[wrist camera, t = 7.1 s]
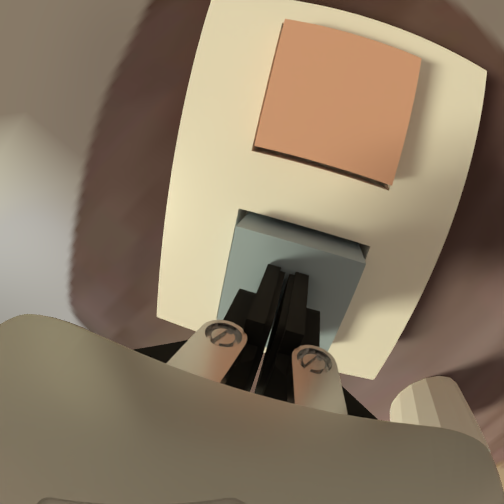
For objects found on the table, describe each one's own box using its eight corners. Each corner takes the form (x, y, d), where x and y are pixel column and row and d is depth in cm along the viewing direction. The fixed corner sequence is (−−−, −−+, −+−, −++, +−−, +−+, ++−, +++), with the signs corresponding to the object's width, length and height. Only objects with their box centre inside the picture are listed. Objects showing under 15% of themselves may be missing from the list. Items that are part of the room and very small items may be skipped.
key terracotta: (404, 71, 10) (421, 58, 8) (378, 177, 12) (392, 185, 10) (290, 38, 10) (285, 18, 8) (265, 144, 12) (254, 145, 10)
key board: (459, 80, 10) (487, 71, 8) (368, 346, 17) (373, 379, 14) (232, 16, 12) (213, -7, 9) (179, 291, 18) (156, 316, 15)
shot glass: (449, 353, 16) (482, 433, 9) (473, 398, 17) (496, 465, 10) (365, 402, 18) (370, 485, 12) (402, 438, 19) (409, 506, 13)
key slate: (358, 242, 13) (366, 263, 11) (323, 332, 15) (322, 362, 13) (249, 211, 13) (235, 226, 11) (228, 304, 15) (214, 331, 13)
